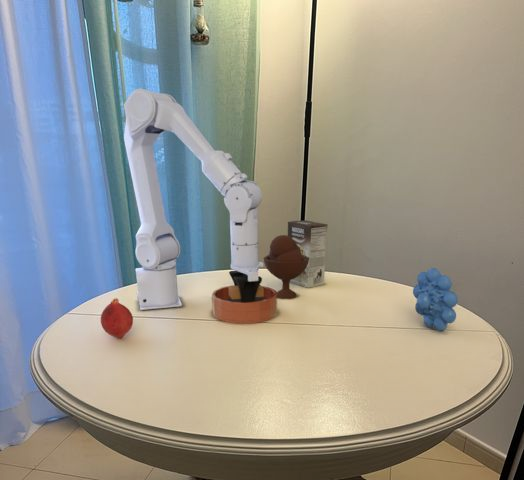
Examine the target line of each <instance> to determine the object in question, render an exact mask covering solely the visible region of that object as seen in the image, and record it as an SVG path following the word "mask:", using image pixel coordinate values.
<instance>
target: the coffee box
mask: <svg viewBox="0 0 524 480" xmlns="http://www.w3.org/2000/svg"><path fill="white" fill-rule="evenodd" d="M328 227H329V225H328V224H327V223H322V222H317V221H311V220H292V221H291V220H290V221H288V222H287V236H290V237H291V238H292V239H293V240H294V241H295V242H296V244H297V245H298V246H299V248H300V250H301V254H302V255H305V256H307V257H309V262H308V265H307V267H306V269H305V270H304V271H303V272H302V273H301V274H300V275H299V276H297V277H296V278H294V279H291V280H290V283H292V284H295V285H298V286H301V287H305V288H313V287H318V286H323V285H325V284H324V283H325V274H326V273H325V272H326V271H325V270H326V258H327V257H326V255H327V242H328V241H327V240H328Z"/></svg>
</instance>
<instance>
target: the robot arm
mask: <svg viewBox="0 0 524 480" xmlns="http://www.w3.org/2000/svg"><path fill="white" fill-rule="evenodd" d="M123 109H124V114H125V123H124V124H125V125H124V131H123V133H124V134H123V140H124V146H125V151H126V155H127V160H128V166H129V171H130V175H131V181H132V185H133V191H134V195H135V200H136V206H137V210H138V216H139V220H140V227H139V228H138V230H137V232H136V233H135V242H136V245H135V251H134V252H135V258H136V260H137V262H138V263H139V265H140V266H142V267H138V268H137V267H136V268H135V276H136V277H135V278H136V286H137V292H136V297H137V298H136V299H137V301H138V302H139V310H141V311H145V310H156V309H167V308H179V307H182V306H183V304H182V300H181V298H180V296H179V290H178V288H179V287H178V277H177V259H178V258H179V257H180V255H181V245H180V242H179V240H178V238H177V236H176V235H175V230H174V228H173V226H172V225H171V224H170V223H168V222H167V219H166V213H165V207H164V202H163V196H162V192H161V191H162V190H161V184H160V181H159V174H158V169H157V163H156V158H155V152H154V148H153V146H154V144H155V143H156V141H157V140H158V138H159V137H160V135H163V133H165V132H166V131H167V132H171V133H173V134H175V136H176V137H177V138H178V139H179V140H180V141H181V142H182V143H183V144H184V146H186V147H187V148H188V150H190V151H191V152H192V153H193V155H194V156H195V157H196V158H197V159H198V160H199V161H200V162H201V172H202V173H203V174H204V176H205V177H206V178H207V180H209V181H210V182H211V184H212V185H213V186H214V187H215V188H216V190H217V191H218V192H219V193H220V194H221V195H222V196H223V201H224V202H223V203H224V205H225V208H226V209H227V210H228V212H229V228H230V229H229V230H230V231H229V232H230V233H229V234H230V259H231V260H230V261H231V262H230V269H231V270H230V271H229V272H228V274H229V276H230V278H231V280H232V282H233V285H234V286H238V288H239V291H240V296H241V302H254V301H255V296H256V292H257V289H258V287H259V285H261V284H262V281H263V277H262V276H259V269H260V268H264V266H265V264H264V262H262V261H259V217H258V215H259V213H258V211H259V209H258V207H259V206H260V205H261V202H262V198H263V196H262V191H261V189H260V187H259V185H258V183H257V182H255V181H253V180H248V175H247V173H245V172H244V173H242V172H241V170H240V169H239V168H238V167H237V165H236V164H235V163H234V162H233V161H232V160H233V156H232V155H231V154H230V153H229V152H224V151H223V150H215V149H214V148H213V147H212V145H211V144H210V142H209V141H208V140H207V139H206V138H205V136H204V135H203V133H202V132H201V131H200V130H199V128H198V127H197V126H196V125H195V123H194V122H193V121H192V120H191V118H190V117H189V116H188V114H187V113H186V110H185V109H184V107H183V106H182V105H181V104H180V103H178V102H177V100H176V99H175V98H174V97H173V96H172V95H170V94H168V93H160V92H156V91H150V90H147V89H144V88H136V89H135V90H133V91H132V92H131V93H129V95H128V98H127V99H126V100H125V102H124V103H123Z"/></svg>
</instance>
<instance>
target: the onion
mask: <svg viewBox="0 0 524 480" xmlns="http://www.w3.org/2000/svg"><path fill="white" fill-rule="evenodd" d="M119 301H120V300H119V299H118V298H117V297H114V298H112V300H111V301H110V303H109V304H108V305H106V307H105V308H104V309H103V311H102V312H101V314H100V325H101V328H102V329H103V330H104V331H105V333H106V334H108V335H109V336H111V337H113V338H116V339H123V338H124V336H125V335H126V334H127V333H128V332H130V330H131V329H132V328H133V324H134V317H133V313H132V312H131V310H130V309H129V308H128V307H127V306H126V305H124V304H122V303H120V302H119Z"/></svg>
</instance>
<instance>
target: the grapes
mask: <svg viewBox="0 0 524 480" xmlns="http://www.w3.org/2000/svg"><path fill="white" fill-rule="evenodd" d="M416 281H417V284H415V285H414V287H413V288H412V294H413V297H414V298H415V299H416V303H415V305H414V309H415V312H416V313H417V314H418V315H420V316H422V321H423V324H424V325H425V326H426V327H427V328H435V330H436V331H437V330H438V331H439V332H444V331H446V329H447V328H448V326H449V324H453V323H454V322H455V321H456V318H457V312H456V311H455V309H454V308H455V307H456V306H457V305H458V301H459V298H458V294H456V292H455V291H452V290H451V289H452V286H453V285H452V284H453V283H452V279H451V278H450V277H449V276H448V275H446V274H441V271H439V269H438V268H436V267H430V268H429V269H428V270H427V271H420V272H419V273H418V274H417V278H416Z"/></svg>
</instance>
